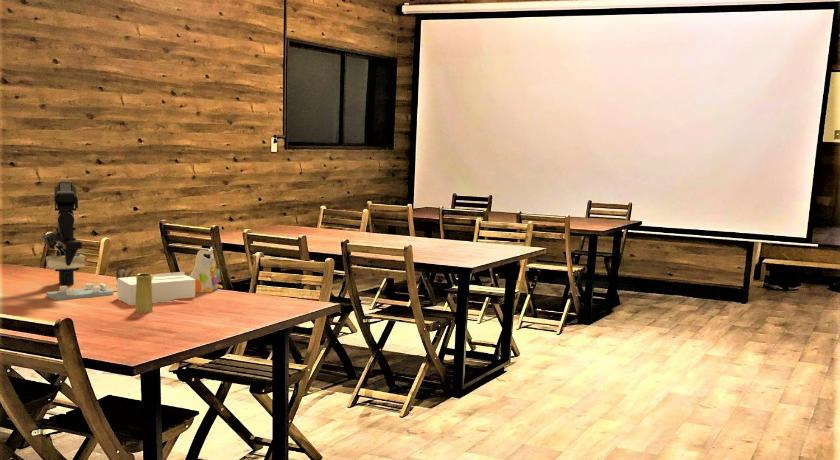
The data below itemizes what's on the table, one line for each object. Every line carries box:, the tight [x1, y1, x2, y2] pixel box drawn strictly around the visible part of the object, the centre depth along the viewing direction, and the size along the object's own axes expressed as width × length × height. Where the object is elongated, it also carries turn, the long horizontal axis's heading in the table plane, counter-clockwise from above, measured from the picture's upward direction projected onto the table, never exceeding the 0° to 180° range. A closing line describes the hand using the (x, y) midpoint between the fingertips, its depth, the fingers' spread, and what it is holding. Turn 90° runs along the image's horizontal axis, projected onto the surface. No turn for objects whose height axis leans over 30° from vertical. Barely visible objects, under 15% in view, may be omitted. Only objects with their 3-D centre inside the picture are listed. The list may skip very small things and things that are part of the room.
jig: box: [45, 282, 114, 301], centre depth 336 cm, size 10×22×4 cm, turn 132°
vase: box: [134, 272, 153, 314], centre depth 310 cm, size 6×6×14 cm
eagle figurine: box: [115, 266, 135, 289], centre depth 351 cm, size 8×7×9 cm
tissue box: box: [117, 271, 196, 306], centre depth 334 cm, size 14×25×11 cm, turn 127°
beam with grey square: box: [45, 253, 88, 270], centre depth 338 cm, size 4×14×5 cm, turn 131°
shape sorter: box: [188, 246, 223, 293], centre depth 353 cm, size 20×10×18 cm, turn 168°
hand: (66, 264), depth 337 cm, fingers closed on beam with grey square, 4 cm apart
